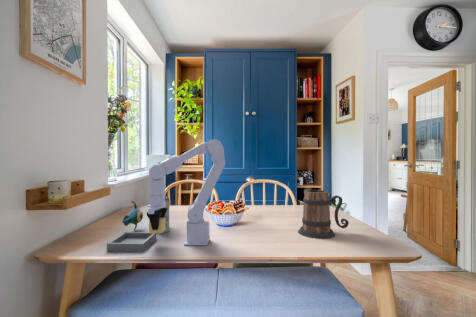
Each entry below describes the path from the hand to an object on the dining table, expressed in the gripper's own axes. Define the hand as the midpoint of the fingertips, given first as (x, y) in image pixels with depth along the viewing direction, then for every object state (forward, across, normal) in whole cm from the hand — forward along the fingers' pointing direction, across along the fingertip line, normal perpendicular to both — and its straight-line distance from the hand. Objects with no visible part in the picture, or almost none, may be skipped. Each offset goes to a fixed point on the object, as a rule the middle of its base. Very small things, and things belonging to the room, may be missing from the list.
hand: (157, 227), depth 98 cm
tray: (+7, 0, -10) cm, 12 cm away
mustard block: (+2, 0, 0) cm, 2 cm away
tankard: (+8, -17, +73) cm, 75 cm away
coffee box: (+7, -20, -5) cm, 22 cm away
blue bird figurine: (+7, -17, -18) cm, 26 cm away
